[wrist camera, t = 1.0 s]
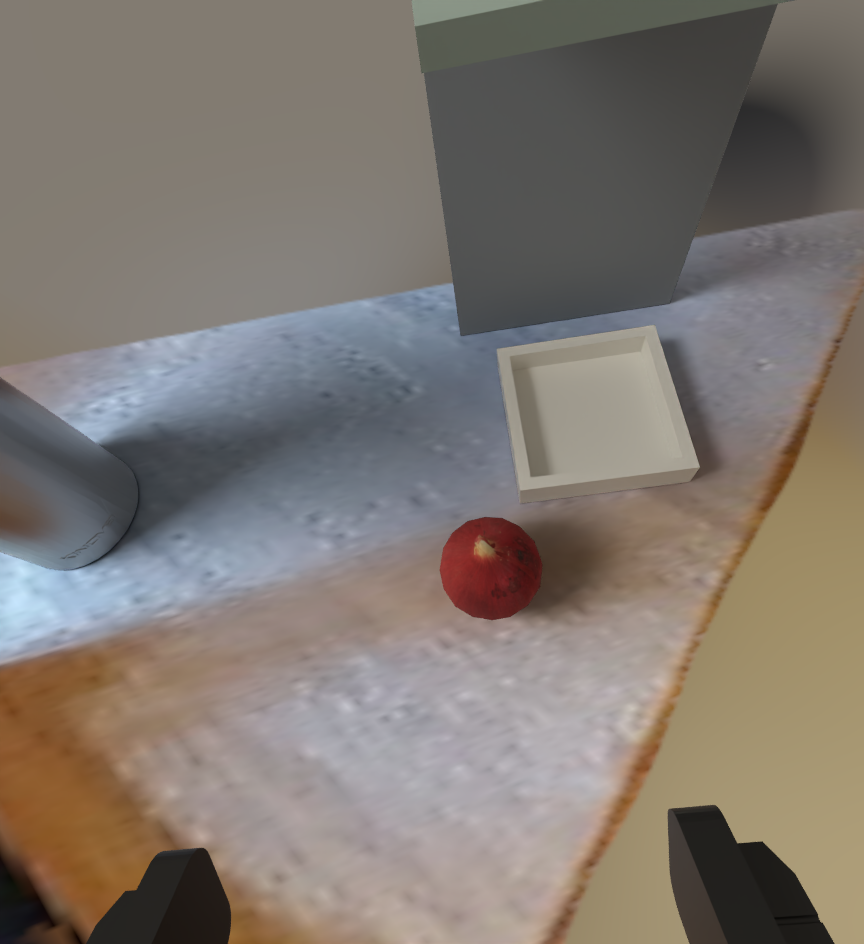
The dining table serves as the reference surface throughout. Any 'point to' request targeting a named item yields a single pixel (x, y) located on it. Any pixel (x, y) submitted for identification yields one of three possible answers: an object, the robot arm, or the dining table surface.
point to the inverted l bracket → (578, 144)
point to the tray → (593, 415)
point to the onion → (490, 568)
